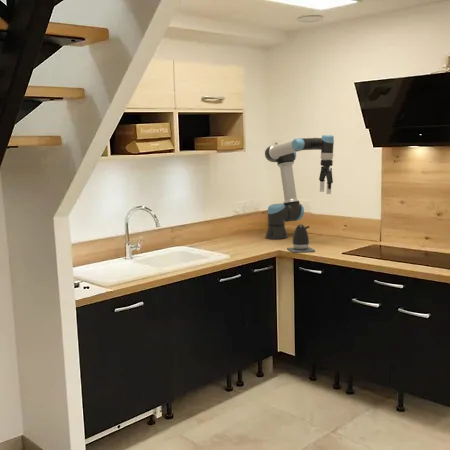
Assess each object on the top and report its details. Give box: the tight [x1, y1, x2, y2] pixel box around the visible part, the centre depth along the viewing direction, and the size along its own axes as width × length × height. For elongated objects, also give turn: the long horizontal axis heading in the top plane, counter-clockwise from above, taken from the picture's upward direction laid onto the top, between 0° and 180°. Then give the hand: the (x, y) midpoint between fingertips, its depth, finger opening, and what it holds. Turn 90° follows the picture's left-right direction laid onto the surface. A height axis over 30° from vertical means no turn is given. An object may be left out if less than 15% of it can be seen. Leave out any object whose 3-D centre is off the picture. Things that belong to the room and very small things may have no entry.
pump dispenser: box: [291, 224, 310, 250], centre depth 355 cm, size 10×10×15 cm
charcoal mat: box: [286, 246, 316, 254], centre depth 356 cm, size 13×14×1 cm
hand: (325, 192), depth 373 cm, fingers open, 13 cm apart
